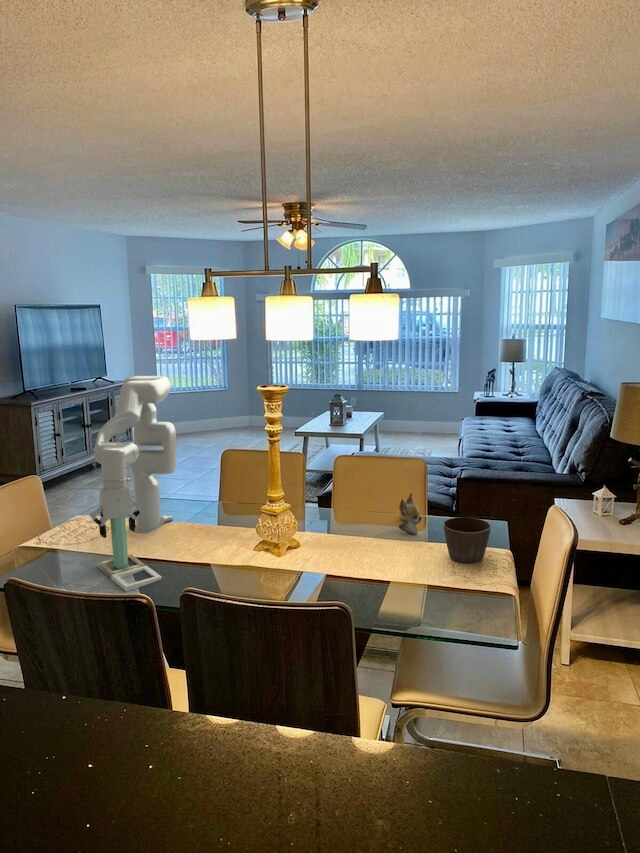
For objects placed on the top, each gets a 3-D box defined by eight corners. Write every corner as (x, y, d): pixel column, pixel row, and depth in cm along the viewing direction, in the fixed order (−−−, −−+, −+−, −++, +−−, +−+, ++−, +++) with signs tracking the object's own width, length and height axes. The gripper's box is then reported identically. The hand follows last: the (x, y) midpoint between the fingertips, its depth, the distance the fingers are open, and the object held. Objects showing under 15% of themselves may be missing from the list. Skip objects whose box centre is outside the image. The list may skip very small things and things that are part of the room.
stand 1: (131, 558, 223) (131, 554, 223) (145, 568, 214) (145, 564, 214) (97, 567, 216) (97, 563, 215) (110, 578, 206) (110, 573, 206)
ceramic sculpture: (416, 540, 237) (416, 501, 234) (394, 536, 241) (394, 498, 238) (426, 531, 246) (426, 494, 243) (405, 528, 250) (405, 491, 247)
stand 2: (146, 569, 213) (146, 565, 213) (162, 581, 204) (161, 576, 204) (111, 579, 206) (111, 574, 205) (125, 591, 196) (125, 586, 196)
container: (127, 571, 212) (121, 499, 207) (109, 571, 212) (103, 499, 207) (132, 564, 218) (127, 494, 213) (115, 564, 218) (110, 494, 213)
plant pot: (482, 583, 198) (483, 535, 195) (436, 574, 205) (437, 527, 203) (494, 567, 211) (495, 521, 208) (450, 559, 218) (451, 514, 215)
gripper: (135, 477, 218) (138, 525, 220) (84, 486, 207) (88, 536, 210) (144, 481, 212) (147, 530, 214) (92, 490, 201) (96, 542, 204)
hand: (118, 533), depth 212 cm, fingers open, 9 cm apart
